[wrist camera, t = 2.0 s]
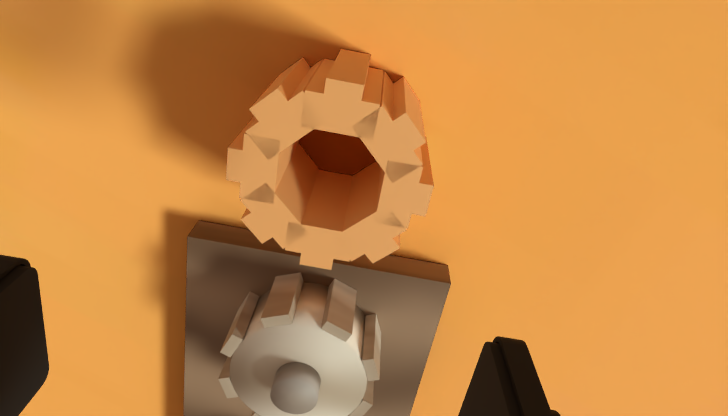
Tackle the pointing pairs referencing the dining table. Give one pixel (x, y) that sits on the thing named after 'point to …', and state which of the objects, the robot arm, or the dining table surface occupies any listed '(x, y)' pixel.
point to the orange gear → (329, 189)
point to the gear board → (254, 271)
